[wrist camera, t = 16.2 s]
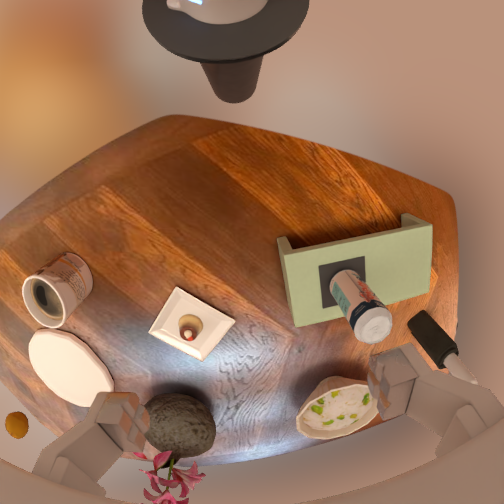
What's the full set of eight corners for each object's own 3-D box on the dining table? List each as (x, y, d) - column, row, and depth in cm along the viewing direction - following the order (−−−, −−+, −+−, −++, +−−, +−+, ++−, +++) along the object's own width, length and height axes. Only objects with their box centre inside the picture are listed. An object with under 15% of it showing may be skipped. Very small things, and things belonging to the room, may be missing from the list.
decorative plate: (58, 324, 46) (128, 407, 54) (67, 313, 50) (133, 395, 58) (9, 348, 48) (68, 415, 57) (17, 339, 52) (73, 406, 60)
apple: (9, 402, 63) (-4, 422, 52) (26, 411, 64) (14, 432, 53) (19, 417, 66) (7, 437, 55) (36, 426, 67) (25, 447, 56)
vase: (226, 419, 61) (224, 528, 33) (164, 425, 62) (144, 523, 34) (201, 374, 55) (184, 504, 27) (132, 383, 56) (94, 492, 28)
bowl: (299, 354, 54) (308, 390, 45) (382, 353, 55) (400, 383, 46) (282, 412, 61) (287, 445, 51) (354, 409, 62) (365, 438, 52)
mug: (91, 308, 49) (66, 340, 39) (45, 288, 48) (16, 314, 37) (95, 261, 46) (65, 288, 36) (46, 242, 44) (11, 263, 34)
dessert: (203, 358, 54) (200, 374, 49) (149, 329, 51) (142, 344, 46) (235, 317, 50) (235, 332, 46) (177, 283, 48) (171, 296, 43)
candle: (430, 322, 53) (491, 394, 30) (412, 335, 54) (469, 413, 31) (424, 308, 52) (491, 382, 29) (406, 322, 53) (467, 403, 29)
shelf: (276, 237, 46) (283, 255, 38) (407, 212, 45) (433, 224, 37) (287, 302, 50) (295, 328, 42) (407, 273, 49) (429, 292, 41)
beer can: (363, 287, 40) (399, 333, 29) (335, 303, 41) (364, 354, 30) (352, 262, 39) (389, 304, 27) (323, 278, 39) (351, 326, 28)
